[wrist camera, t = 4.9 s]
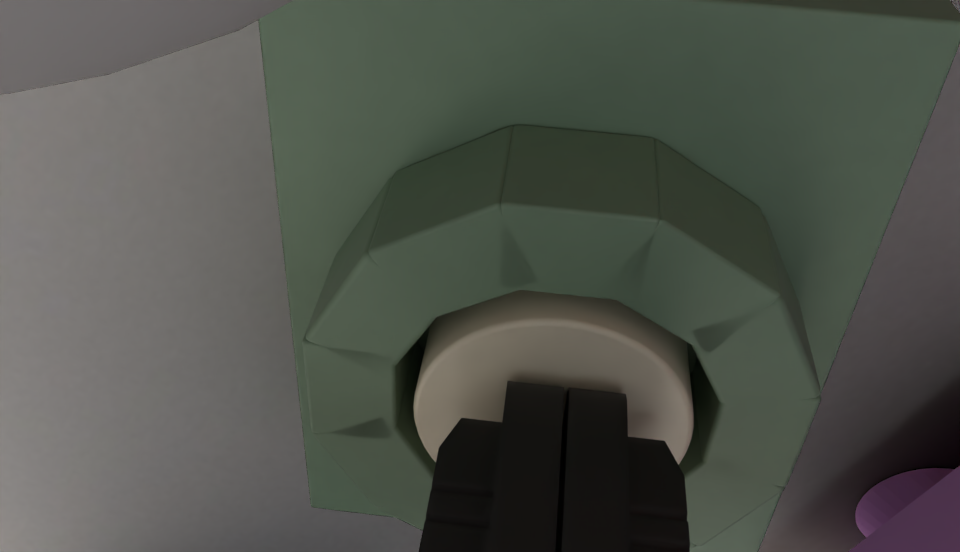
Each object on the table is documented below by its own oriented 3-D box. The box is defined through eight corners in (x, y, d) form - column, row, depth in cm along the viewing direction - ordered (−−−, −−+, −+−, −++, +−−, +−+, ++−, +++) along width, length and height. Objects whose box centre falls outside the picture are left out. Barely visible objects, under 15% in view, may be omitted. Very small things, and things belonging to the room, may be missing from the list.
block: (744, 486, 18) (769, 658, 15) (331, 437, 18) (282, 596, 15) (928, -33, 11) (1029, 100, 9) (290, -87, 12) (194, 23, 9)
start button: (661, 435, 14) (667, 529, 13) (430, 409, 14) (412, 498, 13) (709, 249, 12) (721, 340, 11) (433, 221, 12) (412, 305, 11)
